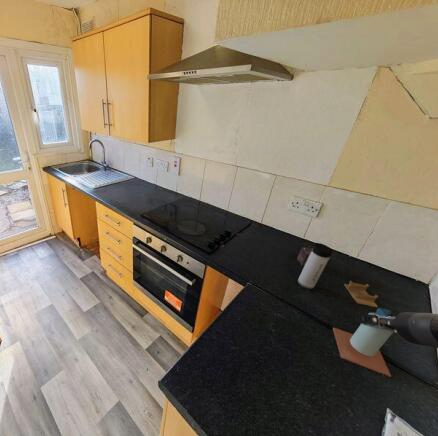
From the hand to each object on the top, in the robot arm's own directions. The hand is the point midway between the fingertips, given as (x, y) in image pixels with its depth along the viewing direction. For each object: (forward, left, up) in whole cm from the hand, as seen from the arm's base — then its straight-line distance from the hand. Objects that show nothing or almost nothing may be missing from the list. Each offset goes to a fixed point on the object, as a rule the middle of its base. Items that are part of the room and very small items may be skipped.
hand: (374, 322), depth 69 cm
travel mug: (+12, -26, -12) cm, 31 cm away
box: (+10, -44, -12) cm, 47 cm away
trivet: (0, +2, -11) cm, 11 cm away
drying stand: (-9, -30, -11) cm, 33 cm away
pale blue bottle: (0, -1, -1) cm, 2 cm away
